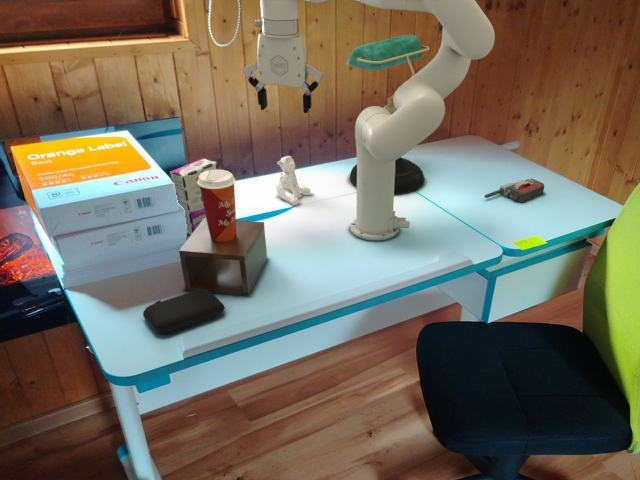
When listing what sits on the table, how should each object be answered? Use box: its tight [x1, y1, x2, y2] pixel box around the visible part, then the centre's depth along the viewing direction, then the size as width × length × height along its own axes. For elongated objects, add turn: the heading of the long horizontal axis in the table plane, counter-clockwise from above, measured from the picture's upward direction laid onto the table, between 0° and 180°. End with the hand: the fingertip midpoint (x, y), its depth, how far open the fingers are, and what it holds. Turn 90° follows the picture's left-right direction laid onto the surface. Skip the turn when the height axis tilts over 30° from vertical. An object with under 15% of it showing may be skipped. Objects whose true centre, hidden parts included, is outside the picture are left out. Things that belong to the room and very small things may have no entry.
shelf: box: [178, 218, 268, 297], centre depth 140 cm, size 14×16×10 cm
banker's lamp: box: [346, 34, 430, 196], centre depth 181 cm, size 26×23×40 cm
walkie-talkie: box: [484, 178, 545, 203], centre depth 186 cm, size 9×4×20 cm
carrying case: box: [142, 289, 226, 336], centre depth 129 cm, size 11×3×15 cm
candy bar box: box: [169, 157, 218, 236], centre depth 157 cm, size 11×5×16 cm, turn 148°
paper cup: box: [197, 168, 237, 242], centre depth 134 cm, size 8×8×14 cm
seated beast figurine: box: [275, 155, 311, 206], centre depth 175 cm, size 10×9×12 cm
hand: (285, 109), depth 140 cm, fingers open, 9 cm apart
